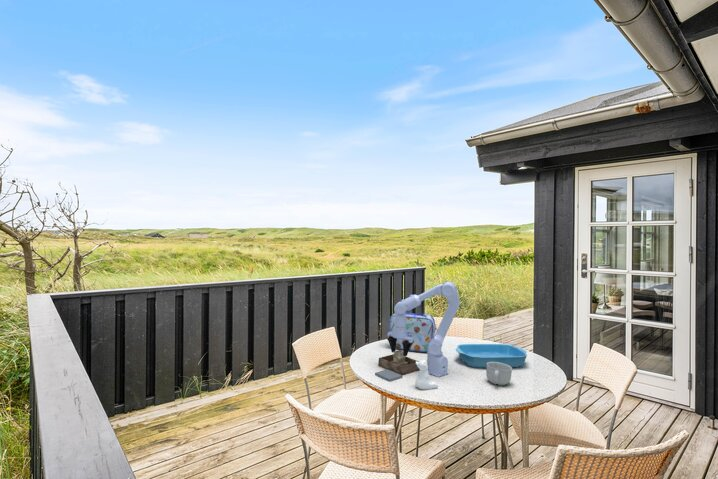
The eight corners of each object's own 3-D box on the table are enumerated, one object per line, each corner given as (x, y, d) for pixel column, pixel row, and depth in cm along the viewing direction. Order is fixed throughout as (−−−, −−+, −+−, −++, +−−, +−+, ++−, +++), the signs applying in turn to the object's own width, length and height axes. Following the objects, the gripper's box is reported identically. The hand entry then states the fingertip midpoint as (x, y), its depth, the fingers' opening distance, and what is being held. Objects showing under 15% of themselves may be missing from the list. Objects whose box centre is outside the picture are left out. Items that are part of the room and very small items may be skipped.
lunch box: (437, 349, 215) (438, 311, 215) (435, 355, 205) (436, 315, 205) (390, 344, 223) (391, 308, 223) (387, 349, 213) (388, 311, 213)
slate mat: (402, 377, 170) (402, 375, 170) (389, 381, 165) (389, 379, 165) (387, 371, 178) (387, 369, 178) (374, 374, 173) (374, 372, 173)
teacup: (491, 376, 175) (491, 359, 175) (514, 382, 168) (515, 365, 168) (479, 385, 164) (480, 367, 164) (504, 392, 157) (505, 373, 157)
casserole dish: (464, 370, 183) (464, 356, 183) (449, 356, 205) (449, 343, 205) (535, 370, 185) (536, 356, 185) (513, 356, 208) (514, 343, 208)
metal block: (405, 362, 183) (405, 352, 183) (399, 363, 180) (399, 353, 180) (399, 360, 186) (399, 350, 186) (393, 361, 183) (393, 351, 183)
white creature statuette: (439, 388, 160) (439, 360, 160) (427, 393, 154) (427, 364, 154) (421, 381, 167) (422, 354, 167) (409, 386, 161) (409, 358, 161)
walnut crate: (420, 369, 181) (420, 361, 181) (401, 375, 173) (401, 367, 173) (396, 360, 193) (397, 353, 193) (378, 365, 185) (378, 357, 185)
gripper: (416, 328, 181) (416, 355, 181) (394, 322, 191) (393, 348, 191) (408, 330, 176) (407, 358, 176) (385, 324, 186) (384, 351, 186)
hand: (399, 353), depth 183 cm, fingers open, 7 cm apart
